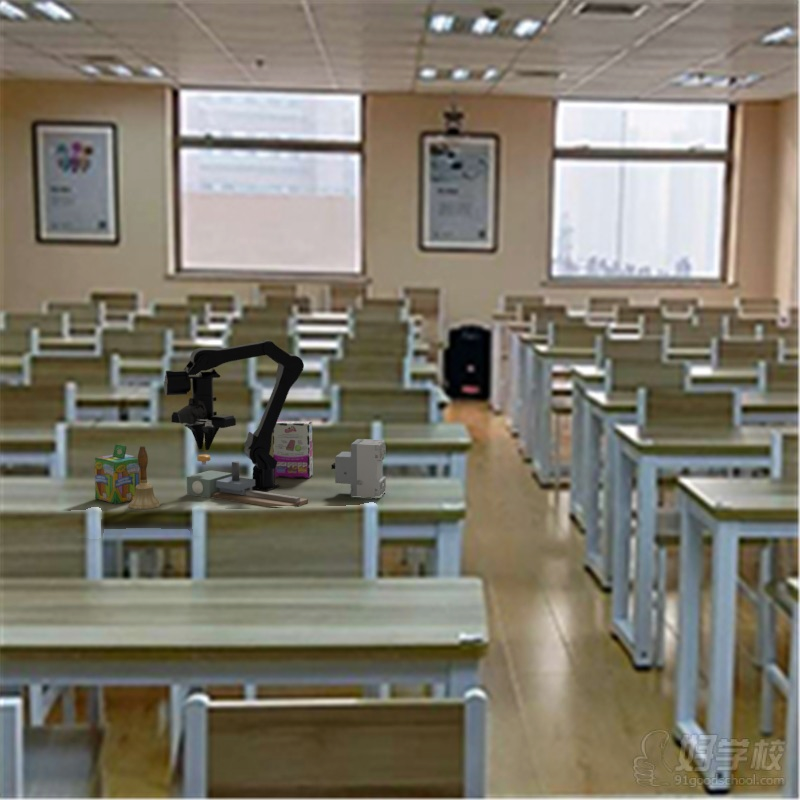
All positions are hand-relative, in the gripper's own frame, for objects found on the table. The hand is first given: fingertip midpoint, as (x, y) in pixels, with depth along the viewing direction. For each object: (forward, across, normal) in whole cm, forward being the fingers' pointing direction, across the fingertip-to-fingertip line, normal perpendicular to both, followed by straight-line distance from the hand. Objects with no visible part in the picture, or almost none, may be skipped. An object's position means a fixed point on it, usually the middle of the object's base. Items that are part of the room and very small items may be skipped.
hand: (203, 449), depth 325 cm
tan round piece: (+4, 0, 0) cm, 4 cm away
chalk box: (+12, -14, -19) cm, 27 cm away
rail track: (+12, +19, 0) cm, 22 cm away
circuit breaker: (+12, +38, +20) cm, 45 cm away
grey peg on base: (+11, +11, 0) cm, 15 cm away
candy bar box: (+12, +9, +30) cm, 34 cm away
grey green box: (+12, +2, 0) cm, 12 cm away
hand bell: (+12, -3, -21) cm, 24 cm away
